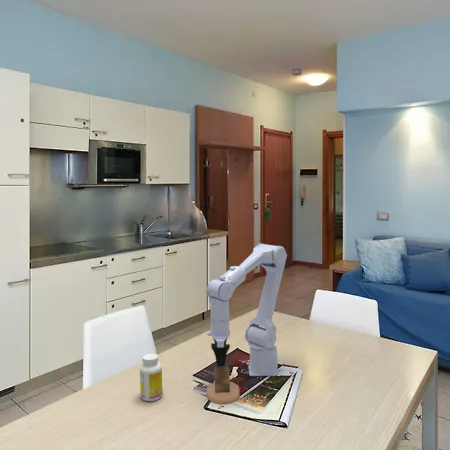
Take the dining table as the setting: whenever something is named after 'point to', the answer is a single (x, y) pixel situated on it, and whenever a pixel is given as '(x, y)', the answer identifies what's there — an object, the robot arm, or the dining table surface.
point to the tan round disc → (223, 394)
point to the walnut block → (222, 379)
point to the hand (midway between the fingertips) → (220, 360)
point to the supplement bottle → (151, 378)
